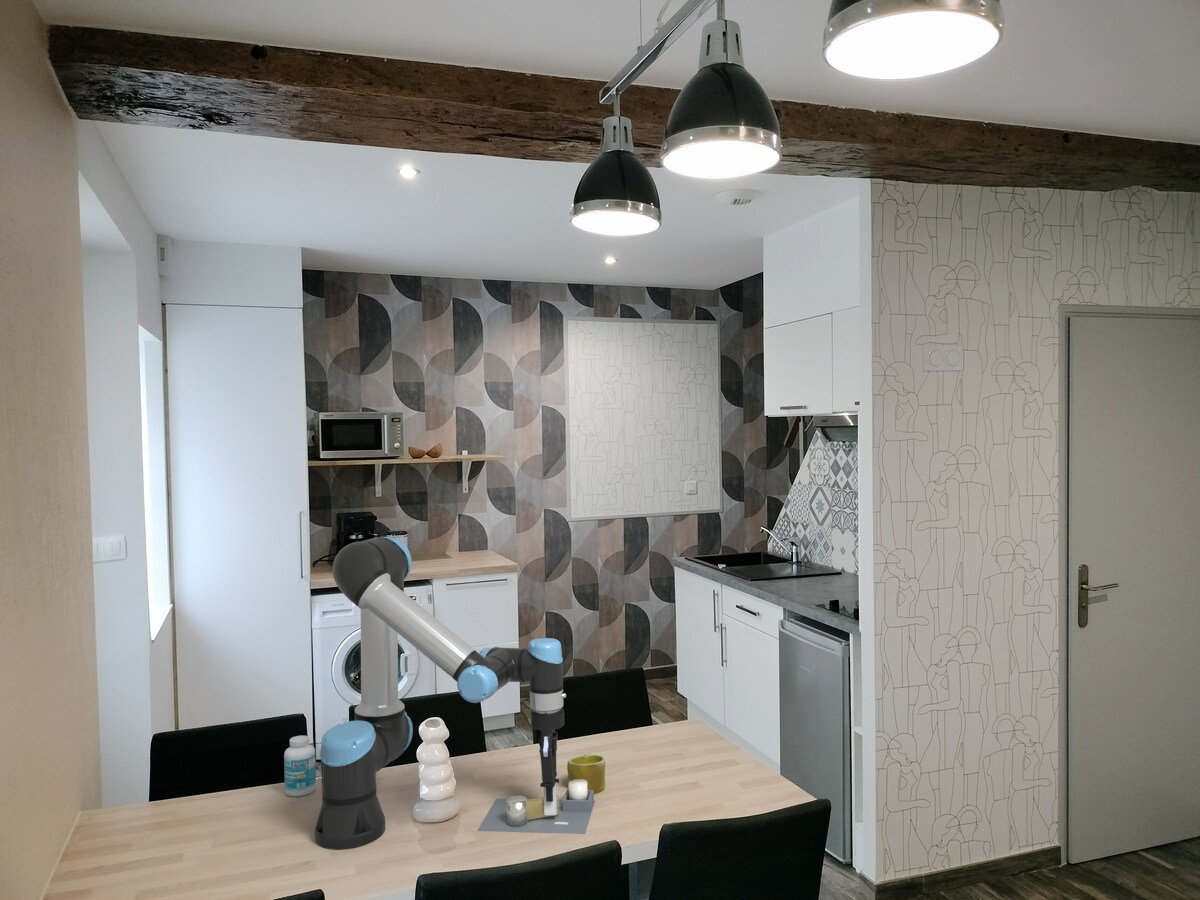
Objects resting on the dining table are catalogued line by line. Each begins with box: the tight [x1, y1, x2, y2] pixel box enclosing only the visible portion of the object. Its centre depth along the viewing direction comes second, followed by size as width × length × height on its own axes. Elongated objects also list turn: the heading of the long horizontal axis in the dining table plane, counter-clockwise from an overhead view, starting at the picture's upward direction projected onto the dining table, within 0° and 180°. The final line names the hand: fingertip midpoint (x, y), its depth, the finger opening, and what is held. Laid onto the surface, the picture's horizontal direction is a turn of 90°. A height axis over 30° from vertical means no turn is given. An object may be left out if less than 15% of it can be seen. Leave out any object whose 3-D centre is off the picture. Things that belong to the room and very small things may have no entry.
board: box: [477, 789, 596, 835], centre depth 190 cm, size 24×17×4 cm
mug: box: [566, 753, 606, 795], centre depth 207 cm, size 12×10×10 cm
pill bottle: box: [283, 735, 317, 798], centre depth 211 cm, size 8×7×14 cm
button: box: [568, 779, 588, 800], centre depth 195 cm, size 4×4×4 cm
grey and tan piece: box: [506, 794, 560, 826], centre depth 188 cm, size 12×5×5 cm, turn 109°
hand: (550, 813), depth 188 cm, fingers closed
